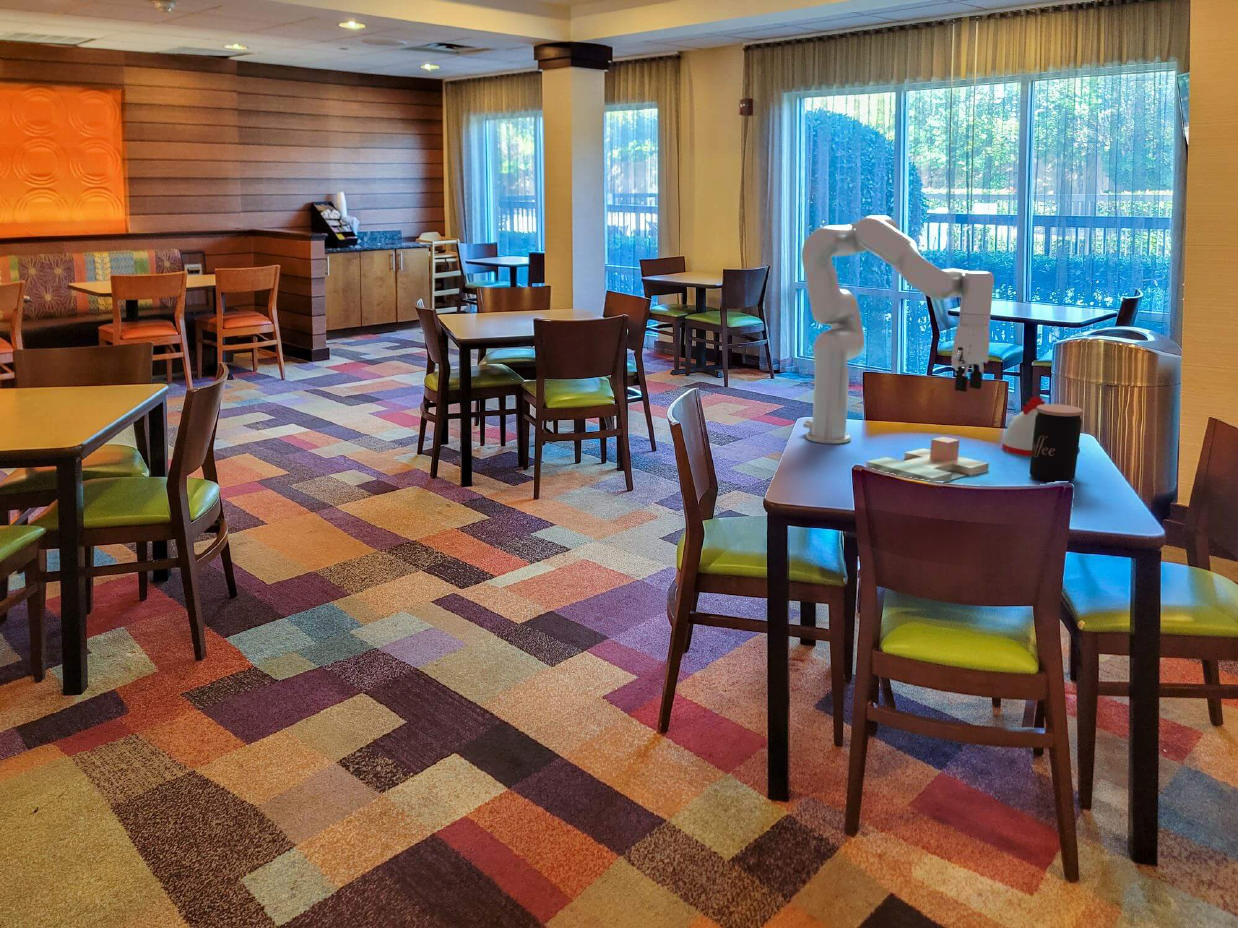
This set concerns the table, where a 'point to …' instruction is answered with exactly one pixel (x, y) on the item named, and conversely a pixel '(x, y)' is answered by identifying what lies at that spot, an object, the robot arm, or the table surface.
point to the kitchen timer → (1022, 429)
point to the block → (944, 449)
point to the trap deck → (928, 466)
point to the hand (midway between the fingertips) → (967, 388)
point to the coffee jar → (1055, 443)
